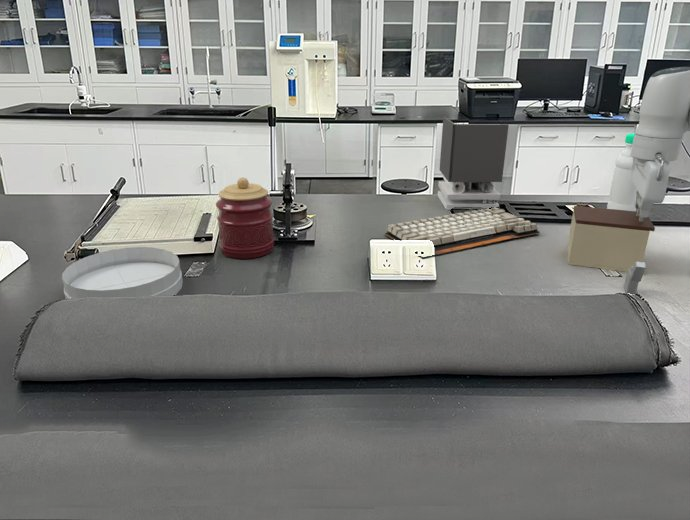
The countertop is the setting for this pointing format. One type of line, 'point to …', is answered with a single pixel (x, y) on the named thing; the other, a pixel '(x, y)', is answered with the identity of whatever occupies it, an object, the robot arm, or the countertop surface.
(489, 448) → the countertop surface
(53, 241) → the countertop surface
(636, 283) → the lighter
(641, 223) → the lid
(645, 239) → the box
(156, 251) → the dish
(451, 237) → the mechanical keyboard
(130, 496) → the countertop surface
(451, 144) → the electrical transformer
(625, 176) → the water bottle
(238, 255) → the kitchen canister
